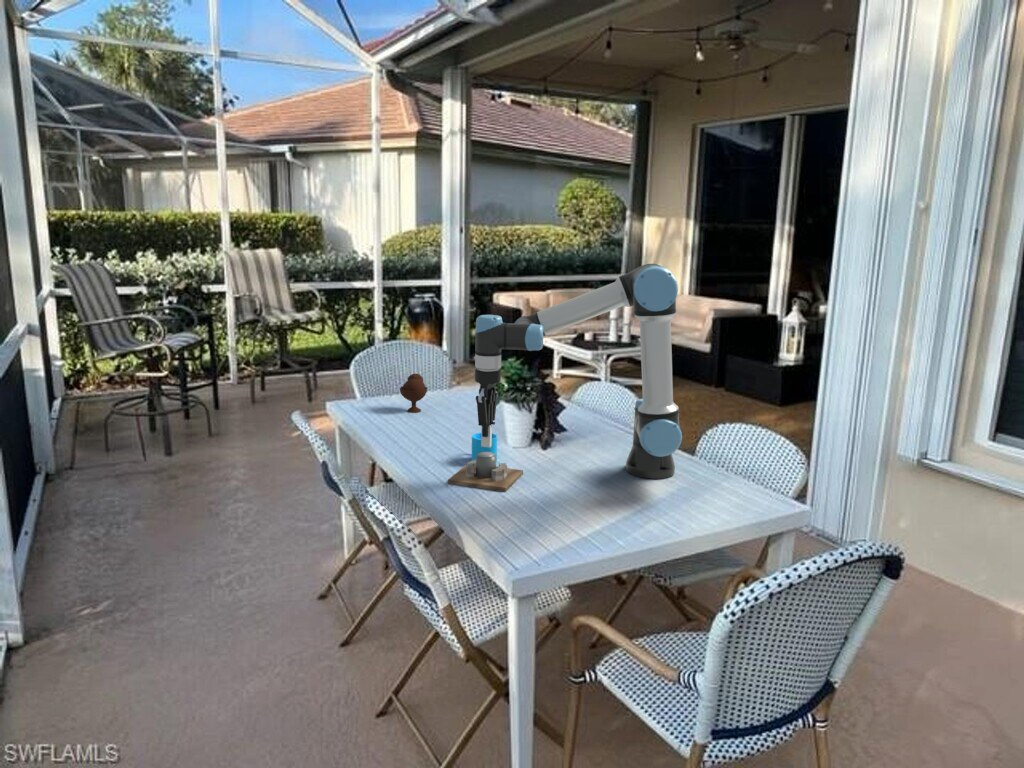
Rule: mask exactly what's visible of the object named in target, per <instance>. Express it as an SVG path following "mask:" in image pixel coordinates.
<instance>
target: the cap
mask: <svg viewBox="0 0 1024 768" xmlns="http://www.w3.org/2000/svg"><path fill="white" fill-rule="evenodd" d="M496 467H497V462H496V455H495V454H494V453H491V452H481V453H479V454H477V455H476V476H477V477H480V478H491V477H492V470H493V469H496Z"/></svg>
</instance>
